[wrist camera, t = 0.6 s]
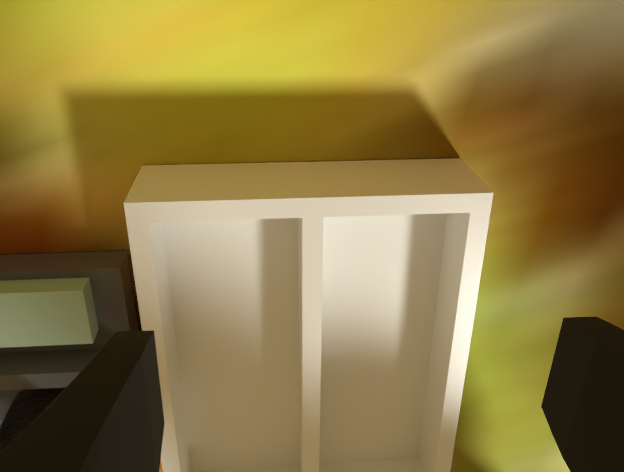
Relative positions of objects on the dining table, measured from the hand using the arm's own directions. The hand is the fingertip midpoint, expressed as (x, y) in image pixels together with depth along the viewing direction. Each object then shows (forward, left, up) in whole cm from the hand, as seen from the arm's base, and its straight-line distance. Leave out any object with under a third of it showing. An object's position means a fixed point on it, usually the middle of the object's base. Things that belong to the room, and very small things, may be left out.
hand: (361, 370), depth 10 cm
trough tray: (-6, 0, -10) cm, 12 cm away
